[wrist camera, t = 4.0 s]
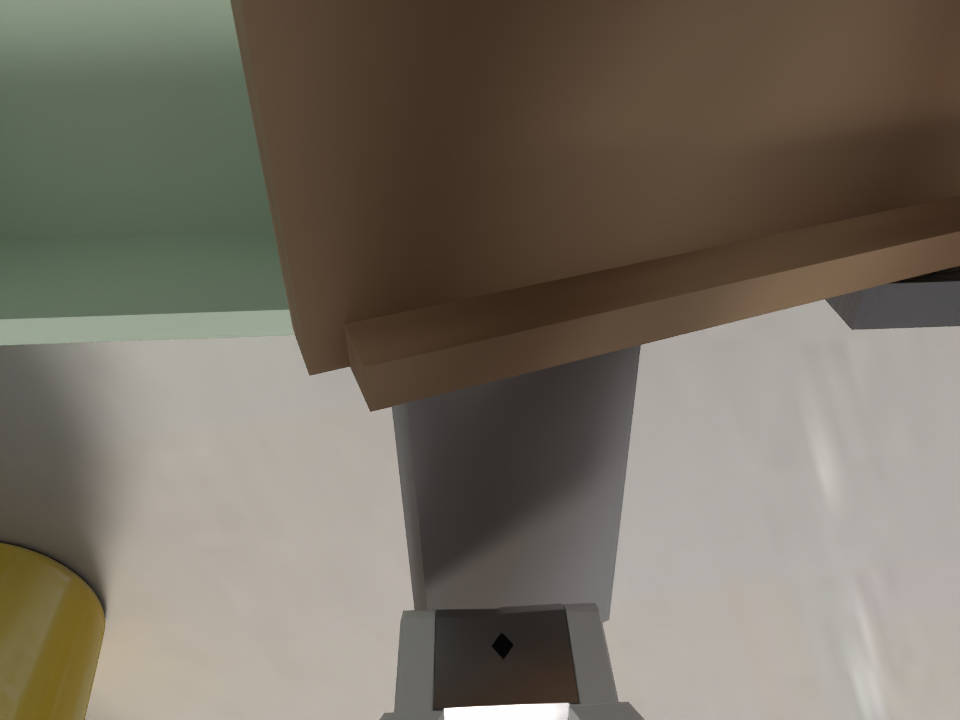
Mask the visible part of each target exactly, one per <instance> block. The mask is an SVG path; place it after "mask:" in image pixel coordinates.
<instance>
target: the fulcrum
mask: <svg viewBox="0 0 960 720" xmlns="http://www.w3.org/2000/svg"><path fill="white" fill-rule="evenodd" d="M825 300H826V301H827V302H828V303H829V304H830V306H831V307H832V308H833V309H834V310H835V311H836V312H837V313H838V315H839V316H840V317H841V318H842V319H843V320H844V321H845V322H846V324H847V325H848V326H849V327H850V328H851V329H852V330H857V329H886V328H914V327H943V326H960V266H956V267H952V268H948V269H944V270H940V271H936V272H932V273H928V274H924V275H920V276H916V277H912V278H908V279H904V280H900V281H896V282H892V283H888V284H883V285H879V286H875V287H871V288H867V289H863V290H859V291H855V292H851V293H847V294H843V295H839V296H835V297H831V298H827V299H825Z"/></svg>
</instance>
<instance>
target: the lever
mask: <svg viewBox="0 0 960 720" xmlns="http://www.w3.org/2000/svg"><path fill="white" fill-rule="evenodd" d="M230 2H231V7H232V13H233V18H234V23H235V28H236V34H237V39H238V44H239V49H240V55H241V60H242V65H243V70H244V75H245V81H246V86H247V91H248V96H249V102H250V107H251V112H252V117H253V123H254V128H255V133H256V138H257V144H258V149H259V154H260V159H261V165H262V170H263V175H264V180H265V185H266V191H267V196H268V201H269V206H270V212H271V217H272V222H273V227H274V233H275V238H276V243H277V248H278V254H279V259H280V264H281V269H282V275H283V280H284V285H285V290H286V295H287V301H288V306H289V311H290V316H291V322H292V327H293V331H294V333H295V336H296V339H297V342H298V345H299V347H300V350H301V353H302V356H303V359H304V361H305V364H306V367H307V370H308V373H309V375H314V374H319V373H323V372H328V371H332V370H336V369H341V368H345V367H351V369H352V372H353V374H354V376H355V378H356V381H357V383H358V385H359V387H360V389H361V392H362V394H363V396H364V398H365V401H366V403H367V405H368V407H369V409H370V412H371V411H375V410H380V409H384V408H388V407H392V411H393V420H394V429H395V438H396V447H397V456H398V465H399V474H400V483H401V492H402V501H403V510H404V519H405V528H406V537H407V546H408V555H409V564H410V573H411V582H412V591H413V600H414V609H415V610H444V609H496V608H499V607H509V606H526V605H543V604H560V603H562V604H563V605H564V604H578V603H596V604H597V606H598V608H599V610H600V614H601V619H602V622H605V621H607V620H609V614H610V605H611V596H612V588H613V579H614V570H615V562H616V553H617V545H618V536H619V527H620V519H621V510H622V501H623V493H624V484H625V476H626V467H627V458H628V450H629V441H630V432H631V424H632V415H633V406H634V398H635V389H636V381H637V372H638V363H639V355H640V346H641V345H642V344H646V343H650V342H654V341H658V340H662V339H666V338H670V337H674V336H678V335H682V334H686V333H690V332H694V331H698V330H702V329H706V328H710V327H714V326H718V325H722V324H726V323H730V322H734V321H738V320H742V319H746V318H750V317H754V316H759V315H763V314H767V313H771V312H775V311H779V310H783V309H787V308H791V307H795V306H799V305H803V304H807V303H811V302H815V301H819V300H823V299H827V298H831V297H835V296H839V295H843V294H847V293H851V292H855V291H859V290H863V289H867V288H871V287H875V286H879V285H883V284H888V283H892V282H896V281H900V280H904V279H908V278H912V277H916V276H920V275H924V274H928V273H932V272H936V271H940V270H944V269H948V268H952V267H956V266H960V0H230Z"/></svg>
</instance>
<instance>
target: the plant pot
mask: <svg viewBox="0 0 960 720" xmlns="http://www.w3.org/2000/svg"><path fill="white" fill-rule="evenodd" d="M104 631H105V616H104V611H103V608H102V606H101V603H100V601H99V599H98V598H97V596H96V594H95V593H94V591H93V590H92V589H91V588H90V587H89V585H88V584H87V583H86V582H85V581H83V580H82V579H81V578H80V577H79V576H78V575H76V574H75V573H74V572H72V571H71V570H70V569H68V568H67V567H65V566H64V565H62V564H60V563H58V562H57V561H55V560H53V559H51V558H49V557H47V556H45V555H42V554H40V553H37V552H34V551H31V550H28V549H25V548H22V547H18V546H14V545H10V544H5V543H0V720H85V716H86V711H87V707H88V703H89V698H90V694H91V689H92V685H93V681H94V676H95V672H96V667H97V663H98V659H99V654H100V650H101V645H102V640H103V636H104Z"/></svg>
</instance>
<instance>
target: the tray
mask: <svg viewBox="0 0 960 720" xmlns="http://www.w3.org/2000/svg"><path fill="white" fill-rule="evenodd" d="M287 335H295V333H294V331H293V327H292V322H291V316H290V311H289V306H288V301H287V295H286V290H285V285H284V280H283V275H282V269H281V264H280V259H279V254H278V248H277V243H276V238H275V233H274V227H273V222H272V217H271V212H270V206H269V201H268V196H267V191H266V185H265V180H264V175H263V170H262V165H261V159H260V154H259V149H258V144H257V138H256V133H255V128H254V123H253V117H252V112H251V107H250V102H249V96H248V91H247V86H246V81H245V75H244V70H243V65H242V60H241V55H240V49H239V44H238V39H237V34H236V28H235V23H234V18H233V13H232V7H231V2H230V0H0V345H26V344H55V343H84V342H113V341H142V340H171V339H200V338H229V337H258V336H287Z"/></svg>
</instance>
